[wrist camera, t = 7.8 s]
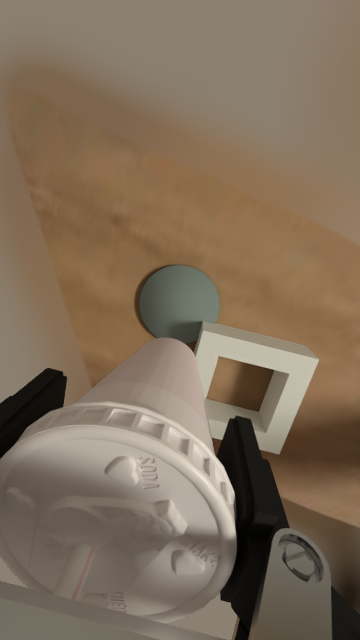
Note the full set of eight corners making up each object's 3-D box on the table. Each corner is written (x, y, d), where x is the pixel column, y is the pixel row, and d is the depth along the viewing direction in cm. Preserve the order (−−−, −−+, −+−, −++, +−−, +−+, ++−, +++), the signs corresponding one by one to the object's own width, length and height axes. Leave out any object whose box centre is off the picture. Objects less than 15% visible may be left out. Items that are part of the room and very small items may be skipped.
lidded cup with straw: (92, 344, 16) (-537, 872, 3) (188, 293, 15) (-70, 862, 1) (147, 430, 17) (-80, 1108, 4) (241, 390, 16) (430, 1245, 2)
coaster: (229, 276, 30) (229, 276, 29) (207, 350, 32) (207, 352, 32) (149, 255, 30) (148, 256, 29) (133, 331, 32) (132, 333, 32)
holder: (304, 345, 31) (319, 359, 27) (270, 431, 35) (279, 454, 31) (202, 319, 31) (203, 330, 27) (178, 407, 35) (175, 428, 31)
